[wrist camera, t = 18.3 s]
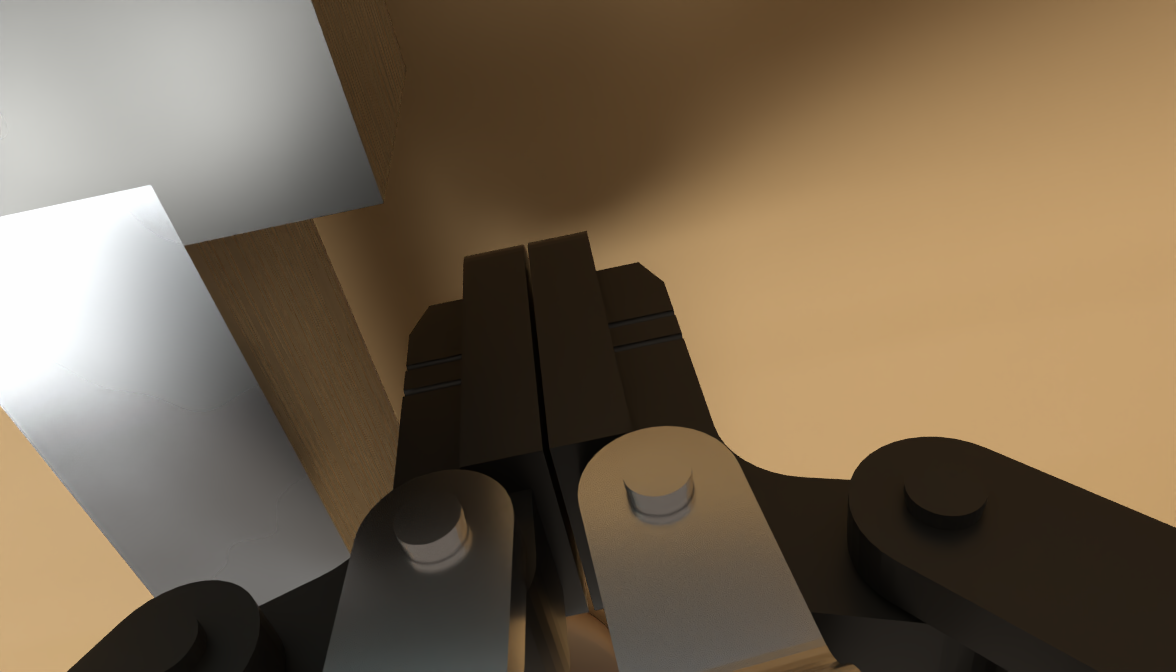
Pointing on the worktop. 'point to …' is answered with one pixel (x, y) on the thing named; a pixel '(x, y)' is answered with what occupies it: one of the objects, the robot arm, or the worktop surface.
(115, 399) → the crank
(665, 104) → the worktop surface
